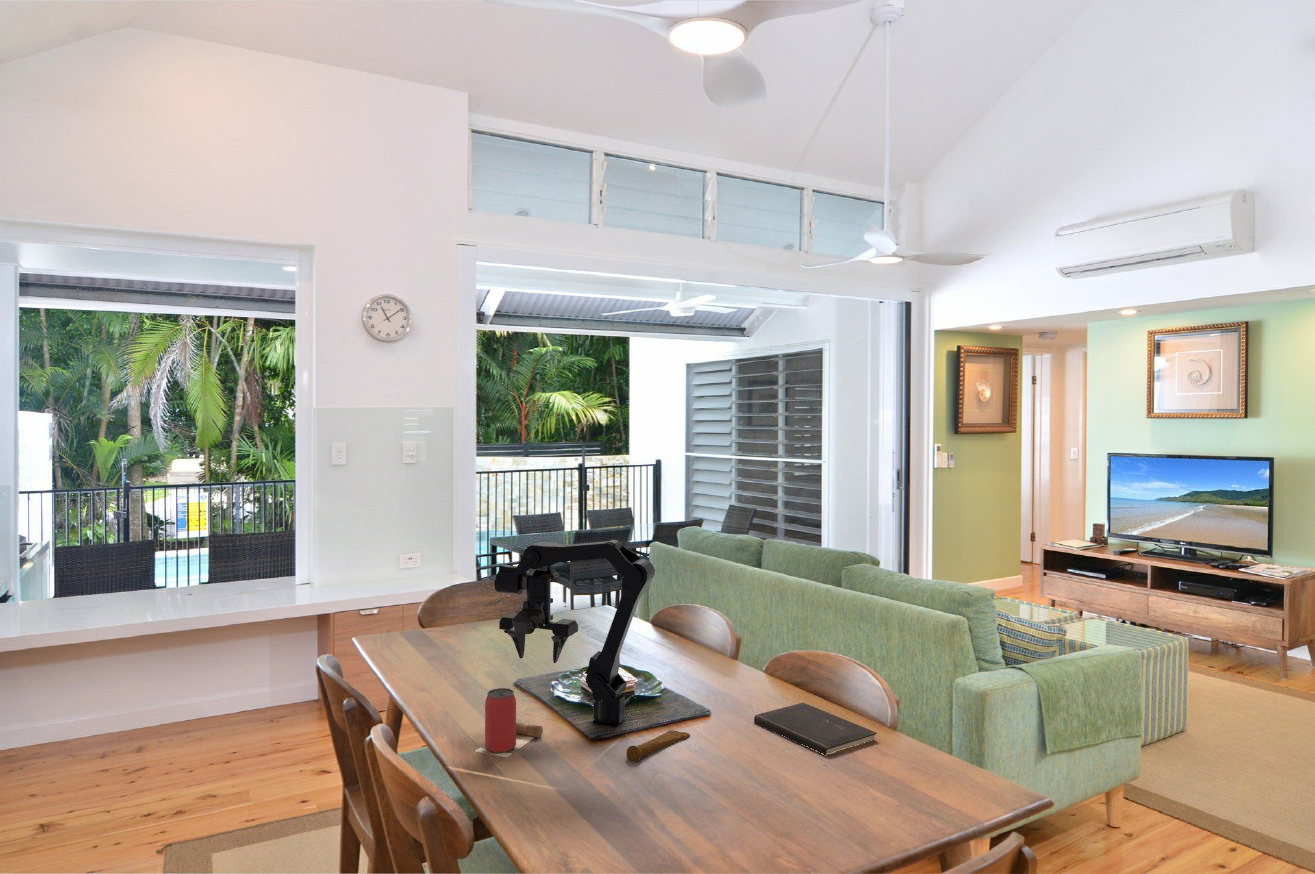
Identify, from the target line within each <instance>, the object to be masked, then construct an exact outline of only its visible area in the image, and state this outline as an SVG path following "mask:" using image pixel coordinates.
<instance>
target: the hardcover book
mask: <svg viewBox="0 0 1315 874" xmlns="http://www.w3.org/2000/svg"><path fill="white" fill-rule="evenodd" d="M753 723H754V724H756V725H758V724H759V725H758V726H760V727H762V726H763V728H764V727H765V728H764V729H766V728H767V730H768V731H771V732H773V731H774V732H773V733H775V732H776V733H775V734H777V733H779V734H780V736H781V735H783V736H785V737H787V738H786V739H788V738H789V739H788V740H790V739H791V740H790V741H792V740H794V741H796V742H798V743H800V744H803V745H805V746H808V747H809V748H812V749H814V750H817V751H818V752H820V753H823V754H824V755H826V754H827V753H832V752H834V751H837V750H841V749H843V748H848V747H850V746H855V745H857V744H861V745H863V744H862V743H864V742H868V743H869V741H871V742H873V741H872V740H874V741H876V740H875V737H876V736H875V735H877V734H878V733H877V732H876V731H873V730H871V729H870V728H866V727H863V726H861V725H859V724H856V723H855V722H851V721H850V720H847V719H844V718H842V717H840V716H837V715H834V714H832V713H830V712H827V711H825V710H823V709H820V708H817V707H815V706H813V705H811V704H808V703H805V702H800V703H797V704H792V705H788V706H785V707H781V708H777V709H773V710H770V711H769V710H768V711H766V712H761V713H757V714H755V715H754V718H753ZM779 734H778V735H779ZM783 736H782V737H783ZM785 737H784V738H785ZM794 741H793V742H794ZM796 742H795V743H796ZM798 743H797V744H798ZM800 744H799V745H800ZM864 744H865V743H864ZM805 746H804V747H805ZM855 747H856V746H855ZM809 748H808V749H809ZM824 755H823V756H824Z"/></svg>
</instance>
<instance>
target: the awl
mask: <svg viewBox="0 0 1315 874" xmlns="http://www.w3.org/2000/svg"><path fill="white" fill-rule="evenodd" d="M516 734H521V735H527V736H533V737H535V738H541V737H542V736H543V734H544V729H543V726H542V725H538V724H537V725H535V724H530V723H524V722H519V721H516Z"/></svg>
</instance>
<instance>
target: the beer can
mask: <svg viewBox="0 0 1315 874" xmlns="http://www.w3.org/2000/svg"><path fill="white" fill-rule="evenodd" d="M485 698H486V699H485V702H484V745H485V748H486V749H487V750H488V751H490V752H494V753H503V752H508V751H510V750H512V749H513V748H514V747H515V746H516V723H517V699H516V696H515V692H514V690H513V689H512V688H506V687H505V688H504V687H498V688H493V689H491V690H488V692H487V696H486V697H485Z"/></svg>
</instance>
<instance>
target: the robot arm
mask: <svg viewBox="0 0 1315 874" xmlns="http://www.w3.org/2000/svg"><path fill="white" fill-rule="evenodd" d="M604 559H606V560H607V561H608V562H609V563H610V564H611V566H612V568H614V570H615V571H616V573H618V574H619V575H621V577H622V579H621V585H620V586H621V588H620V590H621V591H620V592H621V596H620V600H619V603H618V605H617V608H616V609H615V610H616V611H615V613H614V615H613V618H612V619H613V620H612V621H611V625H610V628H609V630H608V633H607V635H606V639H605V641H604V644H603V647H602V649H601V651H600V650H598V651H597V652H596V653H594V654H593V655H592V656H591V657H590V658H589V661H588V667H587V668H586V670H585V672H583V673H584V675H586V676H585V683H586V685H587V687H588V689H590V691H591V694H592V698H593V700H594V701H593V702H592V708H593V709H592V719H593V720H592V721H591V724H593V725H599V726H605V727H609V728H610V727H612V728H618V727H619V726H621V724H623V723H624V722H626V721H627V720H628V716H625V714H626V713H625V711H626V710H625V706H626V705H625V703H626V701H625V700H626V696H625V694H623V692H625V691H626V689H627V685H628V683H627V681H626V680H625V679H624V678H623V677H622V676H621V674H620V673H619V669H620V663H621V662H620V661H621V660H620V657H621V651H622V648H623V645H624V643H625V640H626V638H627V634H628V631H629V629H630V627H631V623H632V620H633V619H634V618H633V617H634V616H635V612H636V609H637V607H638V604H639V601H640V599H641V598H642V596H643V595H644V593H645V592H646V591H647V589H648V587H650V584H651V582H653V581H652V580H653V579H654V576H655V573H656V569H655V567H654V564H653V563H652V562H651V561H650V560H648V559H646V558H645V559H644V558H642V557H640V556H639V555H638V554H637V553H636V552H634V551H633V550H631V549H629V548H627V547H626V546H625V545H623V544H622V543H621V541H619V540H616V539H610V540H607V541H596V542H595V541H594V542H584V543H583V542H582V543H573V544H572V543H571V544H561V543H557V542H551V541H540V542H536V543H534V544H531V545H529V546H527V547H526V548H525V549H524V552H523V556H522V559H521V560H520V562H518V564H517V565H508V564H504V563H503V564H501V565H499V566H498V570H497V573H496V575H495V579H494V581H493V582H494V583H493V585H494V590H495V591H496V593H498V594H509V595H510V594H511V595H522V593H524V591H526V596H525V597H526V600H523V602H522V608H521V610H520V611H518V613H517V612H511V613H509V614H506V615H503V616H501V618H499V621H498V629H499V630H503V633H504V634H506V635H508V636H509V637H510V638H511V639H512V641H513V644H514V646H515V649H516V652H517V654H518V658H519V659H521V660H522V659H523V658H524V655H525V651H526V650H525V648H526V647H525V646H526V636H527V635H531V634H533V633H534V632H535V630H536V629H539V630H540V629H541V630H548V631H551V633H552V634H553V635H552V636H551V640H552V641H553V644H552V645H553V646H552V647H553V648H552V661H553V664H556V663H557V662H558V660H559V659H560V655H561V654H562V651H563V649H564V646H565V644H566V642H567V640H568V639H569V637H572V636H573V635H574V634H576V633H577V632H579V624H578V622H577V620H576V619H570V618H569V619H567V618H562V619H560V620H558V621H556V622H555V621H552V620H554V615H553V614H551V604H553V603H554V598H553V597H552V596H551V592H552V591H551V589H552V588H551V585H552V584H551V582H552V581H551V579H556V578H557V577H559V576H560V573H559V572H558V571H557V570H555V568H554V567H553V565H556V564H559V563H565V562H566V563H567V562H576V561H577V562H579V561H588V560H589V561H592V560H593V561H594V560H604ZM549 566H551V567H549ZM546 567H549V568H547V569H543V568H546ZM531 570H534V571H533V572H529V571H531Z"/></svg>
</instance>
